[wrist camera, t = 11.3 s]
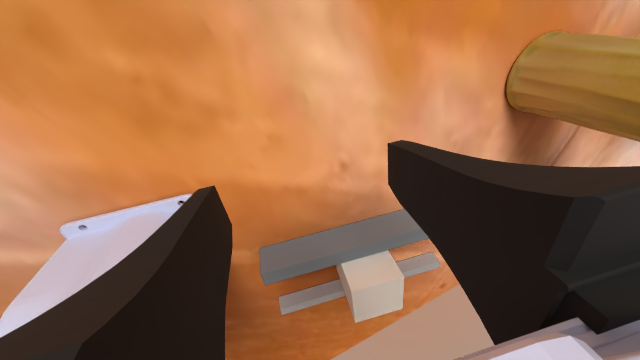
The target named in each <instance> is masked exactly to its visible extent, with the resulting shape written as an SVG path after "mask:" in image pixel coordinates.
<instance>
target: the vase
mask: <svg viewBox="0 0 640 360" xmlns="http://www.w3.org/2000/svg"><path fill="white" fill-rule="evenodd" d="M506 94H507V99H508V101H509V103H510V105H511V106H512V107H513V108H515V109H516V110H519V111H522V112H529V113H534V114H538V115H542V116H546V117H549V118H553V119H558V120H562V121H565V122H569V123H572V124H576V125H579V126H583V127H586V128H590V129H594V130H597V131H601V132H605V133H608V134H612V135H616V136H620V137H624V138H627V139H631V140H635V141H639V142H640V38H636V37H619V36H608V35H597V34H571V33H568V32H565V31H552V32H549V33H546V34H544V35H542V36H540V37H538V38H537V39H535V40H534V41H533V42H531V43H530V44H529V45H528V46H527V47H526V48H525V49H524V50H523V51H522V53H521V54H520V55H519V57H518V58H517V60H516V61H515V63H514V64H513V66H512V69H511V71H510V73H509V76H508V80H507V86H506Z"/></svg>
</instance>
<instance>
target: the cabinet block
mask: <svg viewBox="0 0 640 360" xmlns="http://www.w3.org/2000/svg"><path fill="white" fill-rule="evenodd" d="M336 267H337V272H338V275H339V278H340V280H341V283H342V286H343V289H344V292H345V295H346V298H347V301H348V304H349V306H350V309H351V312H352V315H353V318H354V321H355V323H357V322H361V321H364V320H367V319H370V318H374V317H377V316H380V315H383V314H387V313H390V312H393V311H396V310H400V309H403V290H404V276H403V274H402V272H401V271H400V269H399V267H398V266H397V264H396V262H395V261H394V259H393V257H392V256H391V254H390V252H389V251H388V250H387V251H383V252H380V253H376V254H373V255H369V256H366V257H362V258H359V259H355V260H352V261H348V262H345V263H341V264H338V265H336Z"/></svg>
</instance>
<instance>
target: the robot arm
mask: <svg viewBox="0 0 640 360" xmlns="http://www.w3.org/2000/svg"><path fill="white" fill-rule="evenodd" d="M388 184H389V186H390V188H391V190H392V191H393V193H394V195H395V196H396V198H397V199H398V201H399V202H400V204H401V205H402V206H403V207H404V209H405V210H406V211H407V212H408V213H409V215H410V216H411V217H412V218H413V219H414V221H415V222H416V223H417V224H418V225H419V227H420V228H421V229H422V230H423V231H424V233H425V234H426V235H427V236H428V237H429V239H430V240H431V241H432V242H433V244H434V245H435V246H436V248H437V249H438V251H439V252H440V254H441V255H442V257H443V258H444V260H445V261H446V263H447V264H448V266H449V267H450V269H451V270H452V272H453V274H454V275H455V277H456V278H457V280H458V282H459V283H460V285H461V286H462V288H463V290H464V291H465V293H466V295H467V296H468V298H469V300H470V302H471V303H472V305H473V307H474V308H475V310H476V312H477V314H478V315H479V317H480V319H481V321H482V323H483V324H484V326H485V328H486V330H487V332H488V334H489V335H490V337H491V339H492V341H493V343H494V345H495V346H492V347H490V348H486V349H483V350H481V351H478V352H475V353H472V354H469V355H466V356H463V357H460V358H457V359H454V360H640V166H632V167H555V166H538V165H526V164H516V163H507V162H500V161H493V160H486V159H481V158H475V157H471V156H466V155H461V154H457V153H453V152H449V151H445V150H441V149H437V148H433V147H430V146H426V145H422V144H418V143H414V142H410V141H404V140H400V141H396V142H392V143H388ZM179 201H184V202H185V203H180V202H179ZM82 225H85V226H86V227H84V226H82ZM60 232H61V233H62V234H63V235H64V237H65V238H66V240H65V242H64V243H63V244H62V245H61V246H60V247H59V248H58V250H57V251H56V252H55V253H54V254H53V255H52V257H51V258H50V259H49V260H48V261H47V262H46V263H45V265H44V266H43V267H42V268H41V269H40V270H39V271H38V273H37V274H36V275H35V276H34V277H33V278H32V279H31V281H30V282H29V283H28V284H27V285H26V286H25V288H24V289H23V290H22V291H21V292H20V293H19V294H18V296H17V297H16V298H15V299H14V300H13V301H12V302H11V304H10V305H9V306H8V308H7V309H6V310H5V312H4V314H3V315H2V317H1V319H0V360H225V305H226V295H227V287H228V279H229V271H230V263H231V255H232V224H231V222H230V219H229V217H228V215H227V213H226V210H225V208H224V206H223V204H222V201H221V199H220V197H219V195H218V192H217V190H216V188H215V186H210V187H206V188H202V189H198V190H197V191H196V192H195V193H194V194H193V195H192V194H184V195H180V196H176V197H172V198H168V199H164V200H160V201H156V202H152V203H148V204H143V205H139V206H135V207H131V208H127V209H123V210H119V211H115V212H111V213H106V214H102V215H98V216H94V217H90V218H86V219H82V220H78V221H74V222H69V223H66V224H64V225H63V226H62V227H61V228H60Z"/></svg>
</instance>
